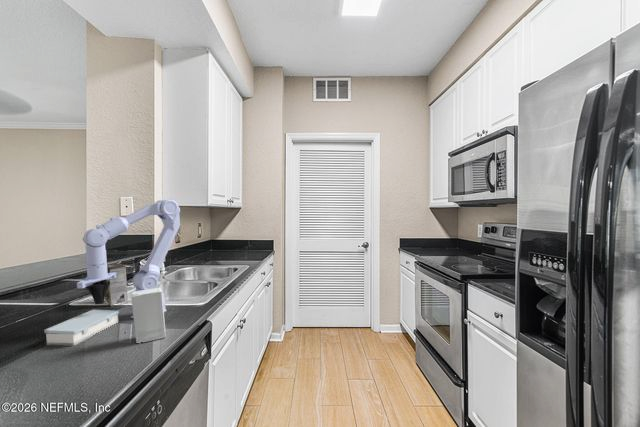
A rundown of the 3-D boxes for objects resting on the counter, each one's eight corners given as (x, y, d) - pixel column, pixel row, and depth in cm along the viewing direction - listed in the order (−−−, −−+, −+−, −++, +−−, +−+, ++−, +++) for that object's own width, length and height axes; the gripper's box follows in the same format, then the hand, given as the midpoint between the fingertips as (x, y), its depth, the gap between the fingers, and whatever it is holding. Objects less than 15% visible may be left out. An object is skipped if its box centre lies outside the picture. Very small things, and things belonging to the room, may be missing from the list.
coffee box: (104, 302, 140) (102, 265, 139) (121, 298, 145) (119, 262, 144) (111, 306, 134) (108, 267, 133) (128, 302, 138) (125, 265, 138)
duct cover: (118, 313, 115) (118, 310, 115) (74, 334, 97) (74, 331, 97) (93, 312, 116) (93, 309, 116) (44, 333, 98) (44, 329, 98)
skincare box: (165, 331, 105) (162, 286, 104) (165, 338, 100) (162, 290, 99) (135, 337, 101) (132, 290, 101) (134, 345, 96) (131, 295, 95)
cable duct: (119, 322, 115) (118, 312, 115) (75, 345, 97) (74, 334, 97) (95, 322, 116) (94, 312, 116) (47, 345, 98) (46, 333, 98)
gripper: (102, 260, 119) (105, 297, 119) (67, 268, 104) (70, 310, 105) (120, 260, 118) (123, 297, 118) (87, 268, 103) (90, 311, 104)
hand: (99, 303), depth 111 cm, fingers closed
